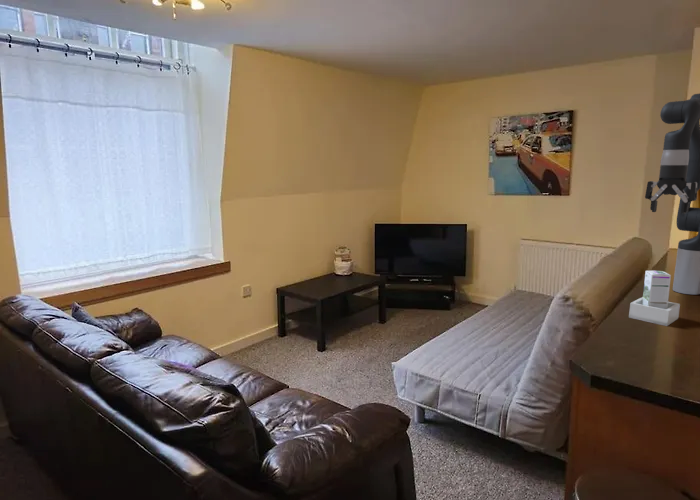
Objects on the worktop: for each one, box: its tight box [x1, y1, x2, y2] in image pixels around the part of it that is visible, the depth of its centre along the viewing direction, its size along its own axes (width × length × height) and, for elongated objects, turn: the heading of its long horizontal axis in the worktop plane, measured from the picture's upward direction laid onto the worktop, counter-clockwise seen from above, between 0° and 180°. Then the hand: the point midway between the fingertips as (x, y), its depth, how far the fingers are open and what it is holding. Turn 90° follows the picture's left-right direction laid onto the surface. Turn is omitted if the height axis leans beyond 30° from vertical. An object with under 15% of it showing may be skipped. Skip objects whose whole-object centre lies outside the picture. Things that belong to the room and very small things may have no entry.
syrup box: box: [642, 270, 672, 309], centre depth 154 cm, size 6×6×14 cm
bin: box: [628, 296, 681, 327], centre depth 154 cm, size 11×11×5 cm
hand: (668, 212), depth 157 cm, fingers open, 8 cm apart
